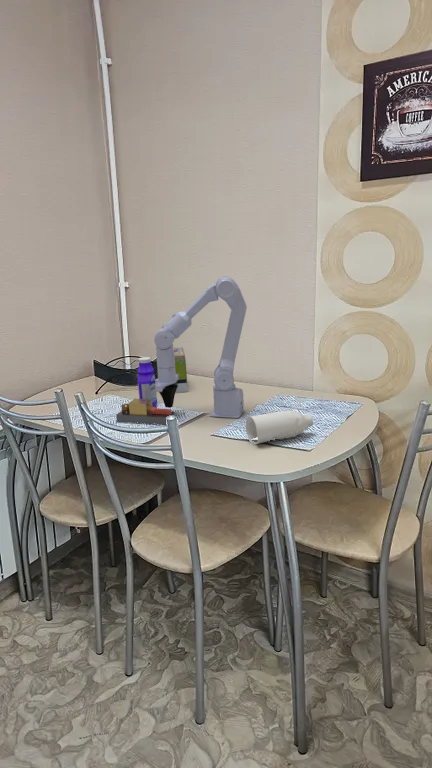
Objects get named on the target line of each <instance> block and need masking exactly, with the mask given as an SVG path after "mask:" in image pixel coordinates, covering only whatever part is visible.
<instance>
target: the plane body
mask: <svg viewBox="0 0 432 768" xmlns="http://www.w3.org/2000/svg"><path fill="white" fill-rule="evenodd" d="M115 415H116V416H115V417H116V423H125V422H136V423H135V424H140V423H157V424H162V425H161V426H167V425H166V417H167V416H169V415H164V414H151V413H150V414H149V415H147V416H143V415H130V411H129V403H123V404H121V410H120V412H118V413H117V414H115ZM170 415H175V416H176V412H175V411H172V414H170ZM137 422H138V423H137Z"/></svg>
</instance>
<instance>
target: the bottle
mask: <svg viewBox="0 0 432 768" xmlns="http://www.w3.org/2000/svg"><path fill="white" fill-rule="evenodd" d="M136 371H137V373H138V375H137V386H138V387H137V388H138V389H137V390H138V399H151V400H152V407H157V404H158V398H157V397H158V396H157V392H156V389H155V386H156V385H157V382H155V380H156V376H155V373H154V372H155V370H154V367H153V366H152V360H151V357H150V356H141V357H139V358H138V369H137V370H136Z"/></svg>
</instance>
